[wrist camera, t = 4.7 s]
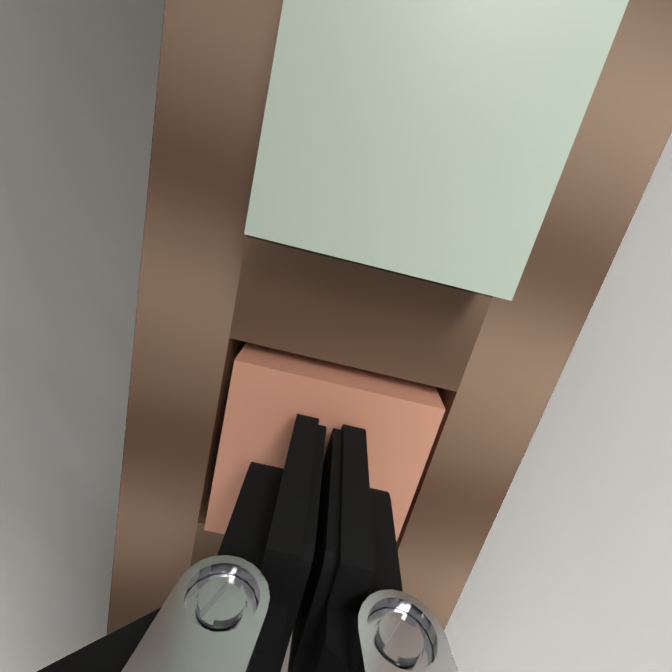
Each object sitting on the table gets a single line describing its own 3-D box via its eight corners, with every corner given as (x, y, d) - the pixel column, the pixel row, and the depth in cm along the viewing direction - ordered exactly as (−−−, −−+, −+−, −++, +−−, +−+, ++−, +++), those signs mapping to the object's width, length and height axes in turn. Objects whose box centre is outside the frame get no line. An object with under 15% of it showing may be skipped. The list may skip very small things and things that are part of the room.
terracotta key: (261, 319, 13) (234, 360, 10) (423, 358, 13) (445, 409, 10) (234, 458, 14) (203, 530, 11) (379, 490, 15) (386, 569, 12)
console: (249, -120, 10) (180, -331, 6) (633, -8, 11) (813, -133, 7) (136, 712, 21) (81, 846, 17) (336, 750, 21) (333, 890, 17)
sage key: (318, -18, 9) (303, -121, 6) (544, 46, 9) (638, -23, 6) (273, 221, 11) (244, 234, 8) (466, 269, 11) (511, 301, 8)
